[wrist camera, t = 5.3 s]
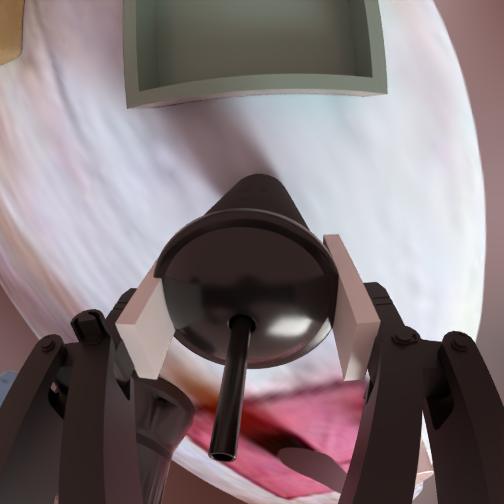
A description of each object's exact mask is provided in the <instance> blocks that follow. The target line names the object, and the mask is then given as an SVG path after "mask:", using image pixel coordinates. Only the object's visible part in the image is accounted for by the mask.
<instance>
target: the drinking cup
mask: <svg viewBox="0 0 504 504" xmlns="http://www.w3.org/2000/svg"><path fill="white" fill-rule="evenodd" d="M153 277H154V278H161V279H162V284H163V290H164V296H165V301H166V306H167V309H168V313H169V316H170V319H171V321H172V323H173V326H174V329H175V333H174V335H173V336H174V337H175V338H176V339H177V340H178V341H179V342H180V343H181V344H183V345H184V346H185V347H186V348H188V349H189V350H191V351H192V352H194V353H195V354H197V355H199V356H201V357H203V358H205V359H207V360H210V361H212V362H215V363H218V364H221V365H225V367H224V372H223V378H222V383H221V389H220V394H219V399H218V405H217V410H216V416H215V421H214V427H213V432H212V437H211V443H210V448H209V454H208V456H209V457H210V458H211V459H213V460H216V461H220V462H233V461H235V460H236V456H237V448H238V439H239V431H240V422H241V413H242V405H243V396H244V387H245V378H246V370H247V369H262V368H270V367H275V366H279V365H283V364H286V363H289V362H292V361H294V360H296V359H298V358H300V357H302V356H304V355H306V354H307V353H309V352H310V351H312V350H313V349H314V348H316V347H317V346H318V345H319V344H320V343H321V342H322V341H323V340H324V339H325V338H326V336H327V335H328V334H329V332H330V331H331V329H332V328H333V325H334V319H335V311H336V303H337V294H338V283H339V272H338V269H337V266H336V264H335V262H334V260H333V258H332V256H331V254H330V253H329V251H328V250H327V248H326V247H325V246H324V244H323V243H322V242H321V241H320V240H319V239H318V238H317V237H316V236H315V235H314V234H313V233H312V232H310V230H309V228H308V226H307V225H306V223H305V221H304V219H303V218H302V216H301V214H300V212H299V211H298V209H297V207H296V206H295V204H294V202H293V200H292V199H291V197H290V195H289V194H288V192H287V190H286V189H285V187H284V186H283V185H282V183H280V182H279V181H278V180H277V179H275V178H273V177H271V176H268V175H264V174H255V175H250V176H248V177H245V178H244V179H242V180H241V181H239V182H238V183H237V184H236V185H235V186H234V187H233V188H232V189H231V190H230V191H229V192H228V193H227V194H225V195H224V196H223V197H222V198H221V199H220V200H219V201H218V202H217V203H216V204H215V205H214V206H213V207H212V208H211V209H210V210H209V211H208V212H207V213H206V214H205V215H204V216H202V217H199V218H197V219H195V220H193V221H192V222H190V223H188V224H187V225H185V226H184V227H183V228H182V229H180V230H179V231H178V232H177V233H176V234H175V235H174V236H173V237H172V238H171V239H170V241H169V242H168V243H167V244H166V246H165V247H164V249H163V250H162V252H161V254H160V256H159V258H158V260H157V263H156V266H155V269H154V274H153Z"/></svg>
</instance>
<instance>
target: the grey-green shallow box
mask: <svg viewBox="0 0 504 504" xmlns="http://www.w3.org/2000/svg"><path fill="white" fill-rule="evenodd" d="M123 56H124V76H125V91H126V103H127V109H131V108H156V107H162V106H168V105H173V104H180V103H186V102H193V101H201V100H209V99H218V98H228V97H239V96H254V95H276V94H325V95H346V96H361V97H367V96H375V95H384V94H388V92H387V73H386V60H385V49H384V39H383V31H382V23H381V16H380V10H379V4H378V0H123Z"/></svg>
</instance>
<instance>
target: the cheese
mask: <svg viewBox="0 0 504 504" xmlns="http://www.w3.org/2000/svg"><path fill="white" fill-rule="evenodd" d="M23 8H24V0H0V65H2V64H5V63H7V62H9V61H11V60H13V59H15V58H17V57H18V56H19V55H20V53H21V50H22V21H23Z"/></svg>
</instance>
